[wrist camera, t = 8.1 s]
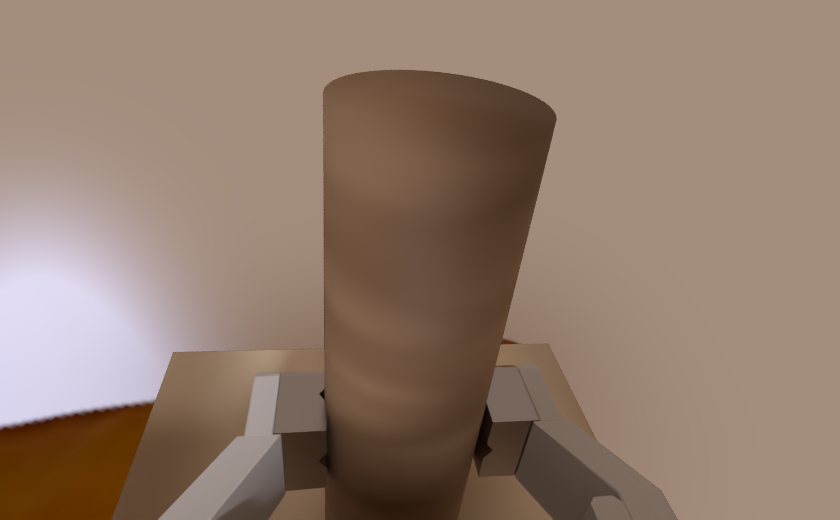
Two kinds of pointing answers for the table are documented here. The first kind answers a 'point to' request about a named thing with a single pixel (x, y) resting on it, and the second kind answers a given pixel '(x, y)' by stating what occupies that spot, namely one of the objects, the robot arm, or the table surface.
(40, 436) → the table surface
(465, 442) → the wooden peg stand
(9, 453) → the table surface
